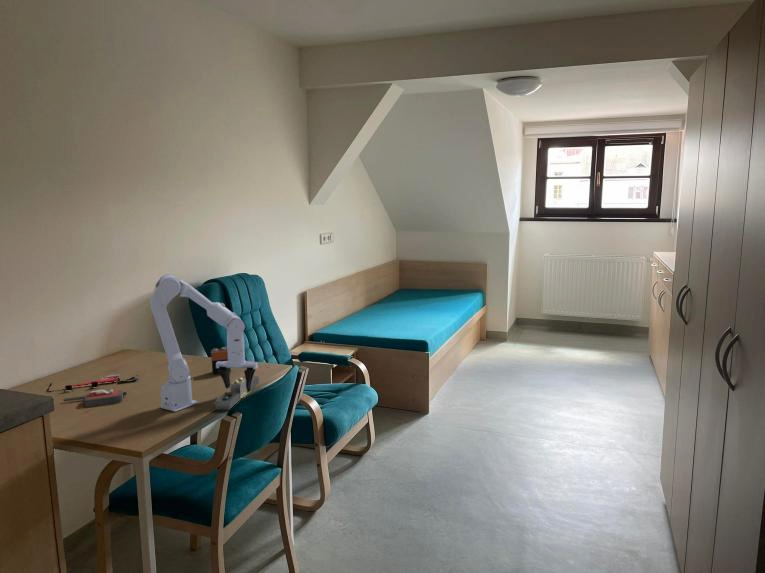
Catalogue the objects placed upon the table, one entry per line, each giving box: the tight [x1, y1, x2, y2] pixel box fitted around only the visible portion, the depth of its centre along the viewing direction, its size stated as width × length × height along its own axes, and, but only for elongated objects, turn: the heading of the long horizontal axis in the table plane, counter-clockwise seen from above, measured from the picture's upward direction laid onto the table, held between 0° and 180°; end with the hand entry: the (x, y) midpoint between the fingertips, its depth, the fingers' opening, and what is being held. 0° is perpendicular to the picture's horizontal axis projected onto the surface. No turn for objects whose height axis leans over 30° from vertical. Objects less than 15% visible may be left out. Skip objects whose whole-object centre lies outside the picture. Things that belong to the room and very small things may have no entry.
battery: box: [210, 346, 232, 375], centre depth 222 cm, size 4×7×10 cm, turn 111°
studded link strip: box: [214, 375, 260, 411], centre depth 195 cm, size 26×5×4 cm, turn 172°
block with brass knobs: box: [229, 376, 247, 398], centre depth 195 cm, size 6×4×6 cm, turn 172°
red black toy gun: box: [65, 373, 139, 391], centre depth 212 cm, size 30×3×15 cm
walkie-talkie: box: [63, 388, 128, 408], centre depth 191 cm, size 9×4×20 cm
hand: (238, 387), depth 195 cm, fingers open, 7 cm apart
